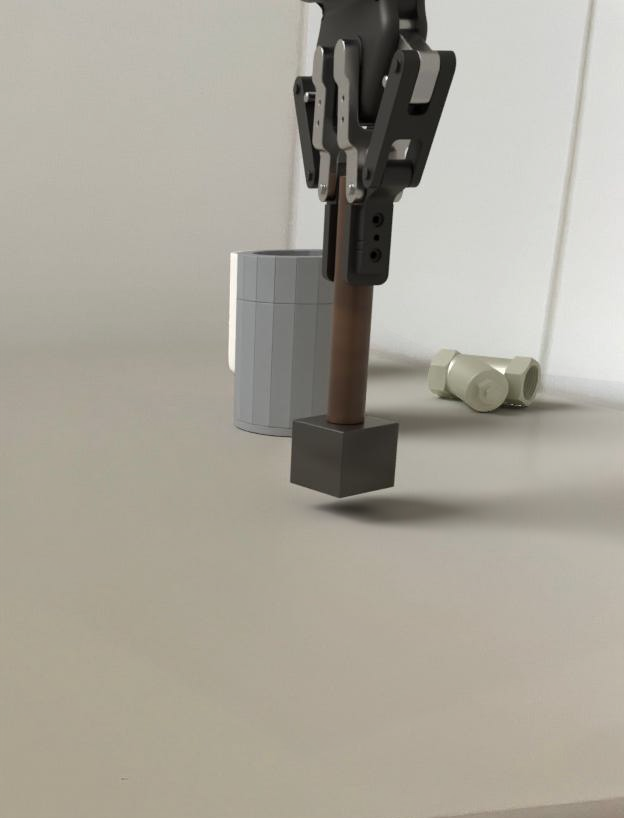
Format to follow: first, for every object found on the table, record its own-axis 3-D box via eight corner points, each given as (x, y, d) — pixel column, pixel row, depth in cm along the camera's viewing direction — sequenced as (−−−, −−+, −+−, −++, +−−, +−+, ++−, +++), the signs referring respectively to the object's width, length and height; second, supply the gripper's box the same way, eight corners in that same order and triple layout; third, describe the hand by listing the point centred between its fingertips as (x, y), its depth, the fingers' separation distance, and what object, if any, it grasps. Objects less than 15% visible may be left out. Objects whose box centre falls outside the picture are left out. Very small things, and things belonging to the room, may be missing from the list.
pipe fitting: (499, 422, 81) (537, 402, 86) (503, 370, 80) (543, 353, 84) (405, 409, 86) (446, 391, 91) (408, 360, 85) (449, 344, 89)
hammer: (343, 472, 61) (361, 175, 55) (394, 487, 58) (419, 174, 52) (289, 482, 59) (302, 176, 53) (339, 499, 56) (359, 175, 50)
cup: (331, 408, 85) (340, 247, 80) (382, 432, 77) (396, 255, 72) (217, 414, 83) (220, 250, 78) (257, 440, 75) (263, 258, 70)
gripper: (542, -169, 42) (491, 292, 49) (388, -89, 54) (365, 271, 61) (364, -180, 41) (338, 298, 47) (248, -95, 53) (240, 275, 60)
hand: (353, 281), depth 54 cm, fingers closed on hammer, 2 cm apart
